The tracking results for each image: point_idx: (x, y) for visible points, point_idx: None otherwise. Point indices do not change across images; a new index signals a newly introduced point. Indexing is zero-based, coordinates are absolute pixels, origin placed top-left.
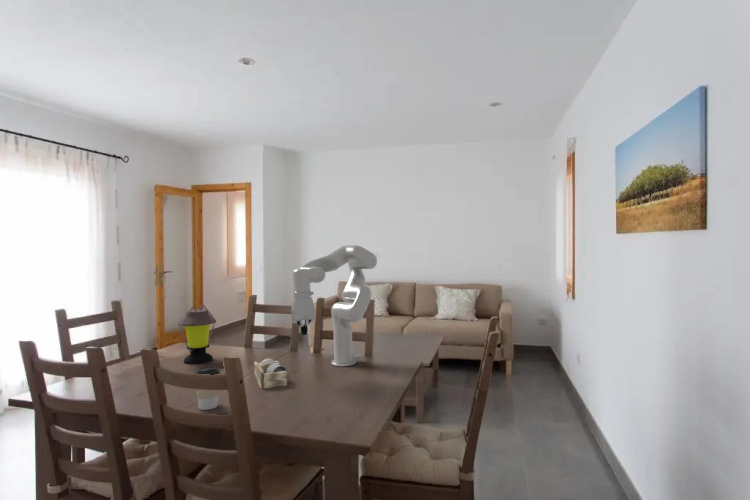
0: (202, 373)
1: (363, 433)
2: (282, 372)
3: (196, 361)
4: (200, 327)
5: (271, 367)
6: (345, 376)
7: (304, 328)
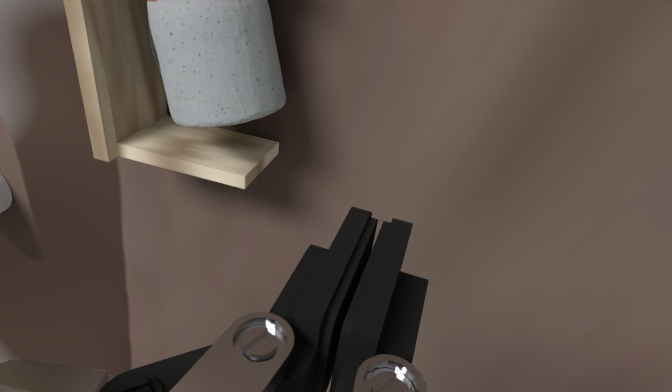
0: None
1: None
2: (221, 182)
3: None
4: None
5: (161, 63)
6: (652, 239)
7: (326, 383)
